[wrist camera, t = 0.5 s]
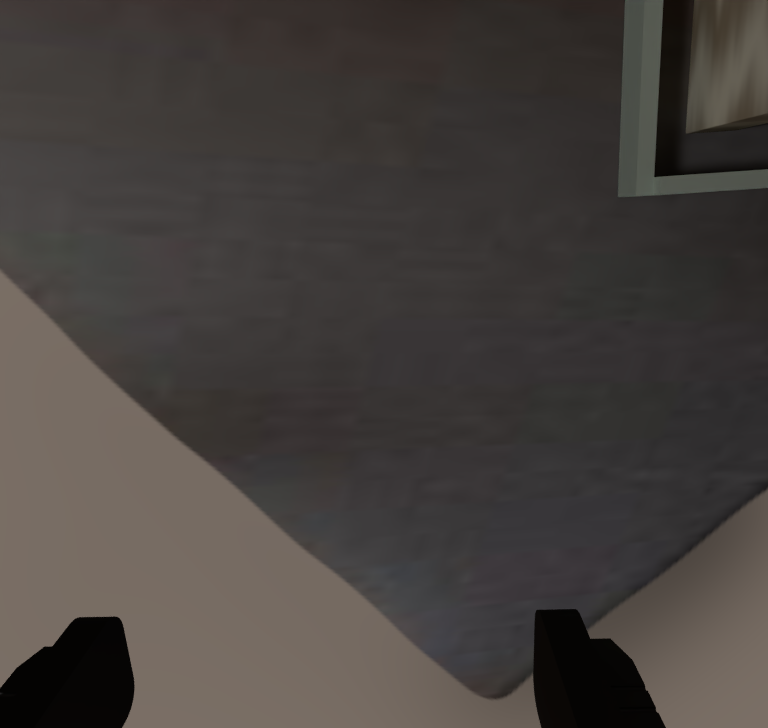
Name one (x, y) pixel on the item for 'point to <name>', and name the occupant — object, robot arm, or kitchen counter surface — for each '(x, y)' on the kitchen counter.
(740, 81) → the birch sheet
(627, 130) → the bin
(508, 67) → the kitchen counter surface
